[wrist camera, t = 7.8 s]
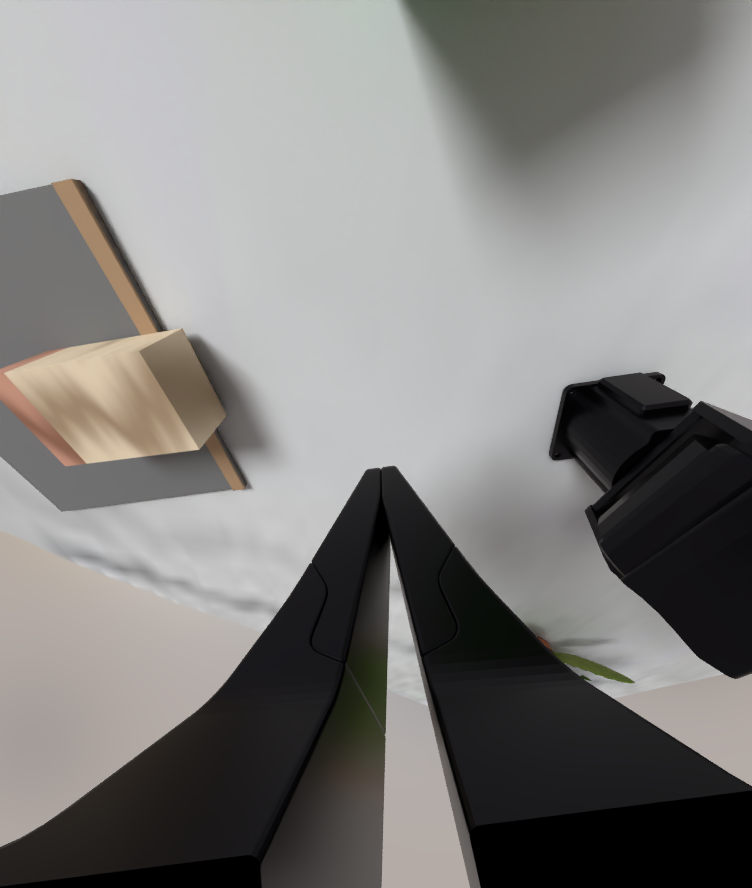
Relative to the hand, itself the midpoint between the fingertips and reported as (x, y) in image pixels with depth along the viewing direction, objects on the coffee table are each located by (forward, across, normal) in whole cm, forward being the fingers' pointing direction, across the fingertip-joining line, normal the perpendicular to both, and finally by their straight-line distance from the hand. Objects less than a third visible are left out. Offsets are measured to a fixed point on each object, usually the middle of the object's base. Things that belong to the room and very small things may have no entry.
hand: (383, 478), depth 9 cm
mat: (+13, +21, 0) cm, 25 cm away
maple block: (+10, +11, 0) cm, 15 cm away
